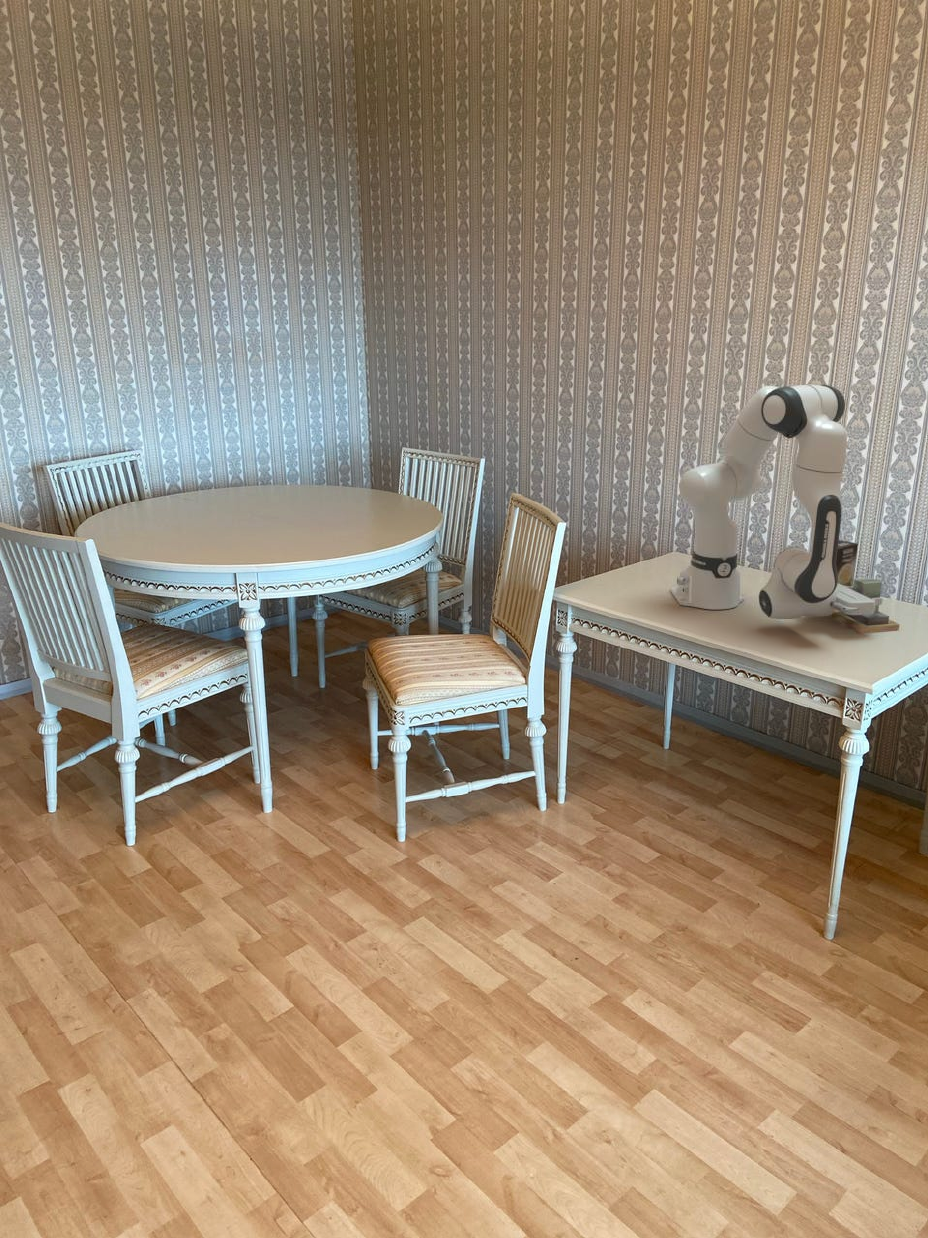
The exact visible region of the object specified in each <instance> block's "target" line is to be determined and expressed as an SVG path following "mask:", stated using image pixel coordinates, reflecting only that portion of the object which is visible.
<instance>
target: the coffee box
mask: <svg viewBox="0 0 928 1238" xmlns="http://www.w3.org/2000/svg"><path fill="white" fill-rule="evenodd" d="M858 547H859V543H857V542H851V541H845V540H842V539H841V540H840V539H839V542H838V551H837V560H836V566H837V572H838V583H839V584H841V585H843V586H850V587H853V583H854V579H855V569H856V562H857V561H856V560H857V555H858Z"/></svg>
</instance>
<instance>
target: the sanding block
mask: <svg viewBox="0 0 928 1238" xmlns="http://www.w3.org/2000/svg"><path fill="white" fill-rule="evenodd" d="M882 583H883V582H882V581H880V580H878V579H875V578H873V577H863V578H861V577H860V578H854V579H853V590H854V591H856V592H858V593H860V594H862V595H864V596H866V597H868V598H870V599H872V598H873V597H880V598H881V593H882V585H883V584H882ZM879 607H880V605H876V606H875V611H874V613H873V614H872V615H847V616H849V617H851V618H853V619H855V620H857V621H859V622H861V623H863V624H865V625H867V626H870V625H880V624H888V621H889V619H890V616H889V615H888V614H885V613H884V612H881V611H879V610H880V609H879ZM841 613H842V612H841ZM843 614H844V613H843ZM845 615H846V614H845Z"/></svg>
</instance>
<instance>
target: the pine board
mask: <svg viewBox="0 0 928 1238" xmlns="http://www.w3.org/2000/svg"><path fill="white" fill-rule="evenodd" d="M828 618H831V619H833V620H835V621H836V622H838V623H840V624H842V625H844V626H846V627H848V628H850V629H851V630H853V631H855V632H856V633H857V634H870V633H880V632H889V631H888V630H893V631H897V630H896V629H899V630H900V626H901V625H900V623H898V622H895V621H893V620H891V619H890V618H889V621H888V624H880V625H870V626H867V625H865V624H863V623H861V622H859V621H857V620H855V619H853V618H851V617H849V616H847V615H845V614H843V613H841V612H840V611H838V610H834V612H833V613H832V614H831V615H830V616H828Z"/></svg>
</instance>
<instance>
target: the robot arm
mask: <svg viewBox="0 0 928 1238" xmlns="http://www.w3.org/2000/svg"><path fill="white" fill-rule="evenodd" d="M845 409H846V401H845V397H844V396H843V394H842V392H841V391H840V390H839V389H838V388H836V387H835V386H832V385H828V384H813V383H812V384H806V383H804V384H800V385H799V384H798V385H791V386H788V385H786V386H785V385H784V386H780V387H778V386H775V385H765V386H763V387H761V388H759V389H758V390H757V391H756V392H755V393H754V395H752V397H751V398H750V399H749V400H748V402H747V403H746V404H745V405H744V406H743V408H742V409H741V410H740V412H739V414H738V416H737V417H736V419H735V420H734V422H733V424H732V425H731V427H730V428H729V430H728V432H727V433H726V434H725V436H724V438H723V446H724V450H725V455H724V456H723V458H722V459H721V460H720V461H719V462H715V463H709V464H703V465H697V466H696V467H694V468H691V469H689V470H687V471H686V472H684V473H683V474H682V476H681V478H680V481H679V485H678V489H679V490H678V491H679V494H680V497H681V498H682V500H683V502H685V503H686V504H687V505H688V506H689V507H690V510H691V512H692V514H693V518H694V522H695V542H694V543H695V545H694V551H691V553H692V554H691V560H690V564H689V565H688V566H687V567H685V568H684V569H683V570H682V571H681V572H680V573H679V576H678V577H677V578H676V584H677V585H674V586H671V587H670V588H669V591H670V593H671V594H672V596H673V597H674V598H675V600H676V601H677V602H678V604H679V605H680V606H685V607H694V608H697V609H699V608H700V609H705V610H729V609H733V608H735V607H737V606H739V605H740V603H742V602H744V600H745V598H744V596H743V595H741V573H740V571H739V570H738V569H737V568H738V561H739V559H738V554H737V548H738V547H737V545H738V536H739V535H738V534H739V533H738V532H739V528H738V524H737V523H736V522H735V521H734V520H733V519H731V518H730V515H729V512H728V503H733V502H740V501H742V500H745V499H748V498H749V497H751V496H752V495H754V494H756V493H757V492H758V491H759V489H760V487H761V483H762V476H761V472H760V470H759V468H760V466H761V463H762V460H763V458H765V457H764V456H765V455H766V453H767V452H768V450H769V449H770V448H771V446H772V444H773V443H774V441H775V440H776V438H777V437H778V436H779V434H781V435H782V436H783V437H785V438H787V439H793V438H796V440H797V442H798V450H797V451H798V452H797V456H796V460H795V464H794V469H793V475H792V489H793V492H794V495H795V497H796V498H797V499H798V501H799V502H800V503H801V505H802V506H803V507H804V509H805V510H806V512H807V514H808V516H809V518H810V523H811V530H812V531H811V537H810V538H811V539H810V547H809V552H808V551H806V550H804V549H803V548H801V547H798V546H792V547H791V546H790V547H787V548H786V549H783V550H782V551H781V552H779V554H778V555H777V557H776V558H775V560H774V563H773V570H772V572H771V575H770V577H769V579H768V581H767V582H766V584H765V585H764V586H763V587H762V588H761V589H760V591H759V593H758V603H759V607H760V608H761V611H762V612H763V614H765V616H766V617H768V618H770V619H775V620H776V619H777V620H793V619H794V620H795V619H799V618H802V617H806V618H819V617H820V618H821V617H829V616H830V615H831V614H832V613H833V612H834V610H838V611H840V612H842V613H844V614H846V615H872V614H873V613H874V611H875V606H876V605H879V606H881V605H883V601H884V598H882V597H881V596H880V597H873V598H872V599H870V598H868V597H866V596H864V595H862V594H860V593H858V592H856V591H854V590H853V587H850V586H843V585H841V584H839V583H838V572H837V566H836V560H837V551H838V542H839V540H840V532H841V524H842V503H841V488H842V486H841V485H842V480H843V473H844V469H845V465H846V464H845V463H846V458H847V450H848V449H847V447H848V432H847V429H846V428H845V427H844V426H843V425H842V424H840V423H839V421H840V420H841V419H842V417H843V415H844V413H845Z"/></svg>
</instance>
